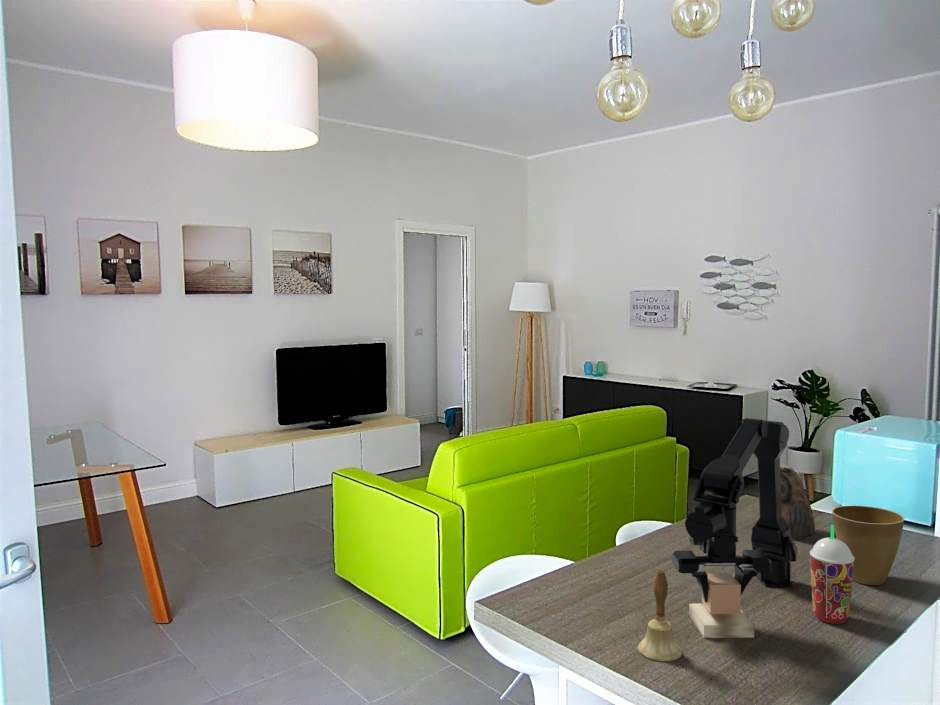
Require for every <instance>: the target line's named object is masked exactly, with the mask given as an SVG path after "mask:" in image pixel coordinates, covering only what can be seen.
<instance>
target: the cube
mask: <svg viewBox="0 0 940 705" xmlns="http://www.w3.org/2000/svg"><path fill="white" fill-rule="evenodd" d="M706 574H707V575H708V599H707V602H705V601H704V599H703V596H702V595H701V602H702V603H703V604H704V605H705V606H706V608H707V609H708V611H709V612H710V614H741V610H742V608H741V603H742V600H741V598H742V595H741V585H740V583H739V582H738V581H737V580H736V579H735V576H734V575H733V574H732V573H730V572H722V573H721V572H719V573H714V572H712V573H711V572H709V573H708V572H706Z"/></svg>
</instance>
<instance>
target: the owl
mask: <svg viewBox="0 0 940 705" xmlns="http://www.w3.org/2000/svg"><path fill="white" fill-rule="evenodd" d="M780 480H781V508H782V517H783V518H784V520H785V521H786V523H787V524H788V525H789V527H790V535H791V537H792V539H793V541H799V540H801V539H805V537H808V536H811V535H813V534H815V533H816V530H815V529H816V523H815V518H814V514H813V509H812V506H811V504H810V500H809V498H808V495H807V492H806V489H805V486H804V484H803V480H802V478H801V477H800V476H799V475H798V473H797V472H796V471H795V469H793V467H792V466H789V465H788V464H787V463H783V462H780Z"/></svg>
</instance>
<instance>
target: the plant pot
mask: <svg viewBox="0 0 940 705" xmlns="http://www.w3.org/2000/svg"><path fill="white" fill-rule="evenodd" d="M831 514H832V516H831V517H832V520H833V525H834V534H835V538H836V539H839V540H841V541H843V542H844V543H845V544H846V545H847V546H848V547H849V549H850V550H851V553H852V555H853V556H854V557H855V559H854V567H853V578H852V582H853V581H854V582H855V583H859V584H862V585H867V586H881V585H883V584H885V583H886V580H887V578H888V576H889V574H890V572H891V570H892V567H893V565H894V562H895V559H896V557H897V553H898V549H899V546H900V543H901V539H902V535H903V530H904V523H905V517H904V516H903V515H902V514H901V513H899V512H896V511H892V510H890V509H886V508H882V507H875V506H866V505H840V506H836V507H834V508H833V509H832V510H831Z"/></svg>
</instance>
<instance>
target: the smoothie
mask: <svg viewBox="0 0 940 705" xmlns="http://www.w3.org/2000/svg"><path fill="white" fill-rule="evenodd" d="M854 559H855V557H854V556H853V555H852V553H851V550H850V549H849V547H848V546H847V545H846V544H845V543H844V542H843V541H841V540H839V539H837V538H836V537H835V528H834V524H831V525H830V537H823V538H821V539H819V540H817V541H816V542H815V543H814V545H813V547H812V549H810V550H809V561H810V580H811V581H810V584H811V597H812V598H811V599H812V600H811V601H812V611H813V612H814V614H815V617H816V618H817V619H818V620H820V621H822V622H824V623H827V624H832V625H833V624H834V625H841V624H844V623H845V622H847V618H849V617H850V609H851V608H850V607H851V599H852V598H851V597H852V587H853V586H852V585H853V580H852V578H853V567H854Z"/></svg>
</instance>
